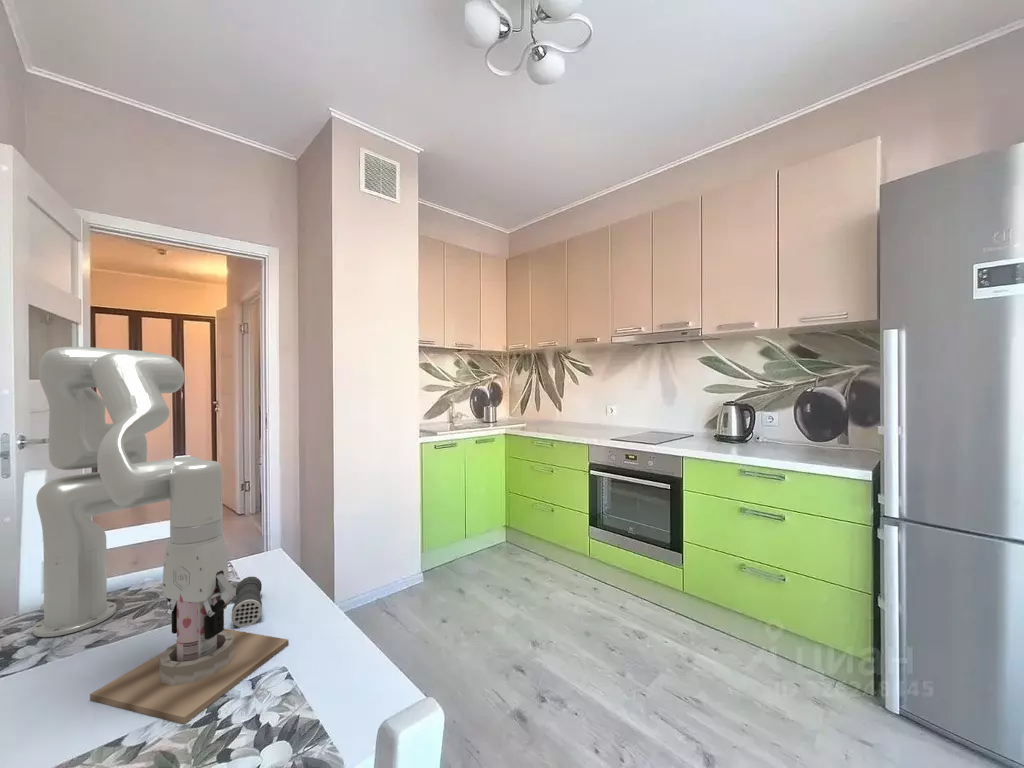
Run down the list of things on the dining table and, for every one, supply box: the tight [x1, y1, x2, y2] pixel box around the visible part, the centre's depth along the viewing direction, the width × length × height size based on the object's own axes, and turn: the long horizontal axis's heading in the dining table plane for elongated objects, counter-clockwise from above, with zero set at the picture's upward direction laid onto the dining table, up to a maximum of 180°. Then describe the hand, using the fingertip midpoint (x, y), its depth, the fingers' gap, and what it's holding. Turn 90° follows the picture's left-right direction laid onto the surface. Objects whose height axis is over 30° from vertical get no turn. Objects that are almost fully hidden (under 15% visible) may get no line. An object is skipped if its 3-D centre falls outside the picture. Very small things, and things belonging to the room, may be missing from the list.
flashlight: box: [230, 576, 263, 628], centre depth 96 cm, size 15×5×5 cm, turn 30°
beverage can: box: [176, 592, 217, 662], centre depth 75 cm, size 6×6×15 cm
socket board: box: [89, 628, 290, 725], centre depth 75 cm, size 20×20×4 cm
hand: (197, 631), depth 75 cm, fingers open, 6 cm apart
